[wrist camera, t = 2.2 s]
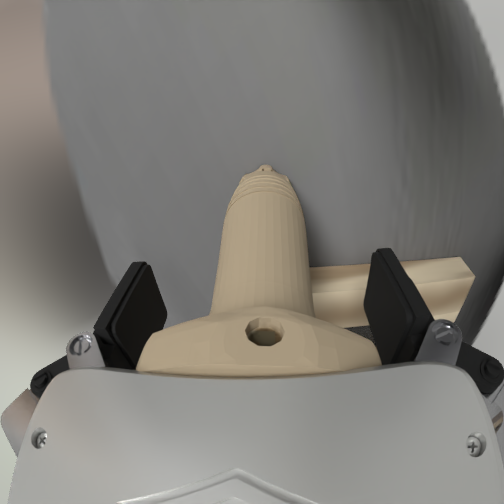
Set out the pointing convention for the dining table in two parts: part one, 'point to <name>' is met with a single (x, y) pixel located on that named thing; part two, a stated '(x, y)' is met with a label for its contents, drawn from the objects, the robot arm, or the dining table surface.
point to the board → (355, 282)
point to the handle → (259, 300)
